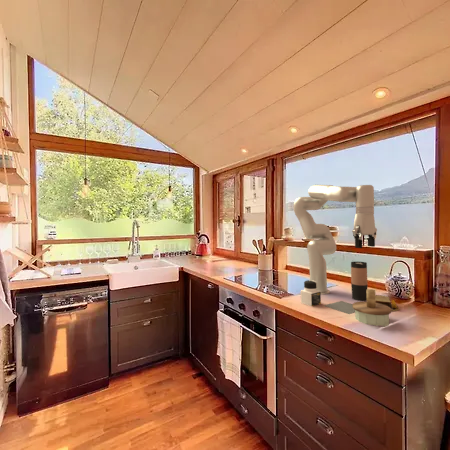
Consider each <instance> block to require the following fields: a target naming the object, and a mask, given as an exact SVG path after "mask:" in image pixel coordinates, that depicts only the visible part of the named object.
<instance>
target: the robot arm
mask: <svg viewBox="0 0 450 450" xmlns="http://www.w3.org/2000/svg"><path fill="white" fill-rule="evenodd" d="M307 192H308V193H307V194H308V196H299V197H297V198H296V199H295V200H294V202H293V213H294V215H295V217H296V218H297V220H298V221H299V224H300V227H301V229H302V232H303V234H304V235H303V236H305V238H306V239H307V240H310V241H309V242H308V243H307V245H306V249H307V254H308V260H309V261H308V262H309V280H312V281H315V282H316V283H317V290H319V291H321V295H328V294H330V290H329V289H328V280H327V279H328V278H327V277H328V276H327V274H328V273H327V261H326V258H325V257H324V256H328V255H330V256H331V255H334V254H335V253H336V252H337V244H336V241H335V239H334V236H333V234H332V231H331V229H330V227H328V226H327V225H326V224H324V223H316V222H315V220H314V217H313V216H312V214H310V213H309V212H308V211H318V210H320V209H321V208H322V207H323V206H324V205H325V204H326V203H327V202H328V201H333V202H339V203H341V202H342V203H346V202H347V203H348V202H349V203H355V215H354V221H353V229H352V231H351V232H352V235H353V238H354V246H355V248H357V249H362V248H363V239H362V238H363V236H367V247H372V248H374V247H375V246H376V235H377V231H378V229H377V228H376V222H375V215H374V214H375V205H374V204H375V196H374V195H375V186H373V184H360V185H358V186H337V185H336V186H334V185H331V184H315V185H314V184H313V185H311V186H310V187H309V189H308V190H307Z"/></svg>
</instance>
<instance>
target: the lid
mask: <svg viewBox="0 0 450 450" xmlns="http://www.w3.org/2000/svg"><path fill="white" fill-rule="evenodd" d="M366 291H367V300H366V301H355V302H354V303H352V304H353V309H355V310H356V311H359V312H362V313H366V314H371V315H388V314H389V315H390V314H391V313H392V311H391V309H392V307H391V306H390V307H388V306H386V305H383V304H379V303H376V299H375V295H376V289H372V288H367V290H366Z"/></svg>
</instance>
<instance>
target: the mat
mask: <svg viewBox="0 0 450 450" xmlns="http://www.w3.org/2000/svg"><path fill="white" fill-rule="evenodd" d="M323 307H325V308H329V309H332V310H335V311H338V312H340V313H344V314H347V315H351V314H355V309H353V303H350V302H347V301H344V300H340V301H336V302H332V303H329V304H323Z"/></svg>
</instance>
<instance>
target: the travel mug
mask: <svg viewBox="0 0 450 450" xmlns="http://www.w3.org/2000/svg"><path fill="white" fill-rule="evenodd" d="M350 275H351V276H350V277H351V278H350V279H351V280H350V281H351V287H350V288H351V297H352V298H351V299H352V300H354V301H357V302H367V291H366V290H367V289H369V288H368V264H367V262H365V261H351V262H350Z"/></svg>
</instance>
